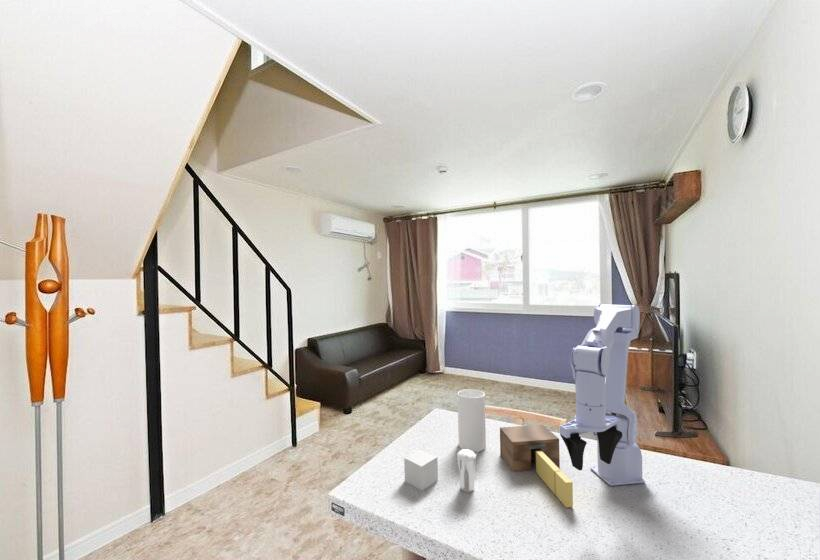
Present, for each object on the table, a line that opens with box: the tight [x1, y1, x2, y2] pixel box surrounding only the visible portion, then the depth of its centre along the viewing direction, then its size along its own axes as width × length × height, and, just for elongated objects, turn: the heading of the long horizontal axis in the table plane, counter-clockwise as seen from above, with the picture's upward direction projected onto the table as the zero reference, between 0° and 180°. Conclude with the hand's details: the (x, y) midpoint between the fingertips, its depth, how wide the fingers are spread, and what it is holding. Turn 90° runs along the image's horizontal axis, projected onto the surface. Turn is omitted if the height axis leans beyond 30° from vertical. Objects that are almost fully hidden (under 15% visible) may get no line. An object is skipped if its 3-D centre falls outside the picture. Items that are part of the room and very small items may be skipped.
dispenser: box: [499, 424, 561, 473], centre depth 95 cm, size 13×10×8 cm
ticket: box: [535, 451, 574, 508], centre depth 83 cm, size 2×14×6 cm, turn 6°
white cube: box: [403, 449, 439, 492], centre depth 87 cm, size 6×6×6 cm
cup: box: [457, 388, 487, 453], centre depth 105 cm, size 8×8×16 cm
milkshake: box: [456, 449, 480, 493], centre depth 84 cm, size 4×5×10 cm
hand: (591, 464), depth 74 cm, fingers open, 7 cm apart
